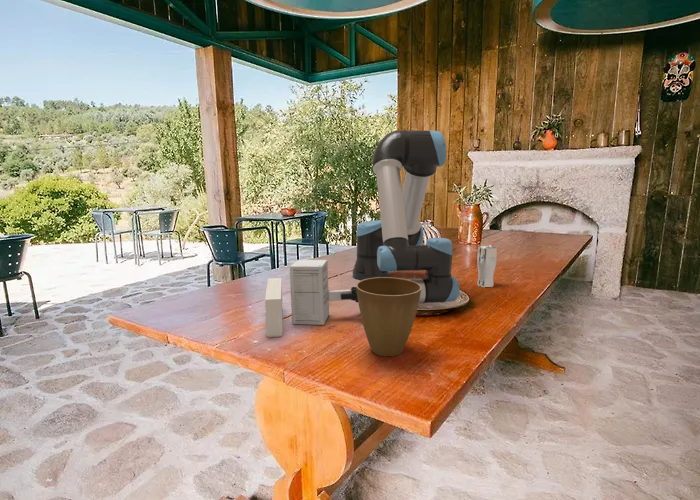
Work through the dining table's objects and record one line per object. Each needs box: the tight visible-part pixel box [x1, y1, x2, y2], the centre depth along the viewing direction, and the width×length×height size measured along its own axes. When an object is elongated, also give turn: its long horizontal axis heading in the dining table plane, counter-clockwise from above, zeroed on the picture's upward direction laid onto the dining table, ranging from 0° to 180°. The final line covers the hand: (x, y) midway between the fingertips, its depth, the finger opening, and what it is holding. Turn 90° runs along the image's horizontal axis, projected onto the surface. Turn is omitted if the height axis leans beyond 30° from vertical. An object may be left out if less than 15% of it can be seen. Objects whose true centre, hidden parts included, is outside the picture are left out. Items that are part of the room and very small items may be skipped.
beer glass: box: [476, 245, 498, 288], centre depth 146 cm, size 7×7×15 cm
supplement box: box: [289, 259, 330, 326], centre depth 110 cm, size 10×9×17 cm
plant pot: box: [355, 276, 422, 357], centre depth 89 cm, size 15×15×16 cm
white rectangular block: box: [264, 277, 284, 338], centre depth 109 cm, size 4×22×10 cm, turn 10°
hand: (328, 295), depth 110 cm, fingers closed
